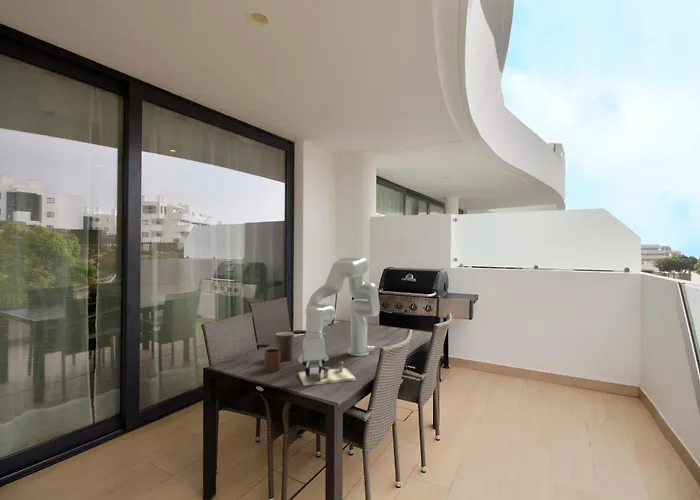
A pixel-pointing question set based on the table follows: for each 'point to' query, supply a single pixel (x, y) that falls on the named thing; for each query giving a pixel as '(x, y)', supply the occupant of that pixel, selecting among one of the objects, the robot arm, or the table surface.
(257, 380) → the table surface
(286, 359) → the pillar candle
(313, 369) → the grey rectangular block
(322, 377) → the board
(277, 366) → the mug
